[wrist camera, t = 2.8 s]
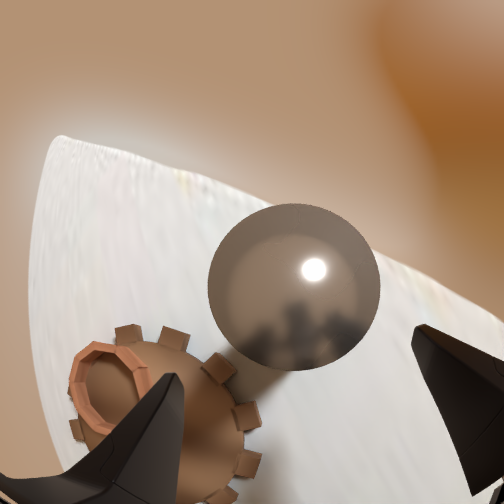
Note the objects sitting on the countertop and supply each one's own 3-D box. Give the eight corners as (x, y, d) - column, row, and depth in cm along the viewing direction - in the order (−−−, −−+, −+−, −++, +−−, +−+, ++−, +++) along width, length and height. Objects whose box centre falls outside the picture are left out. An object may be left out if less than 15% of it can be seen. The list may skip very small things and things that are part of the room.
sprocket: (261, 521, 13) (258, 538, 10) (85, 480, 14) (68, 486, 12) (261, 329, 19) (258, 324, 16) (78, 319, 20) (59, 313, 18)
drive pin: (318, 360, 18) (387, 361, 6) (255, 362, 18) (205, 371, 6) (315, 300, 19) (365, 201, 7) (254, 302, 20) (212, 208, 8)
